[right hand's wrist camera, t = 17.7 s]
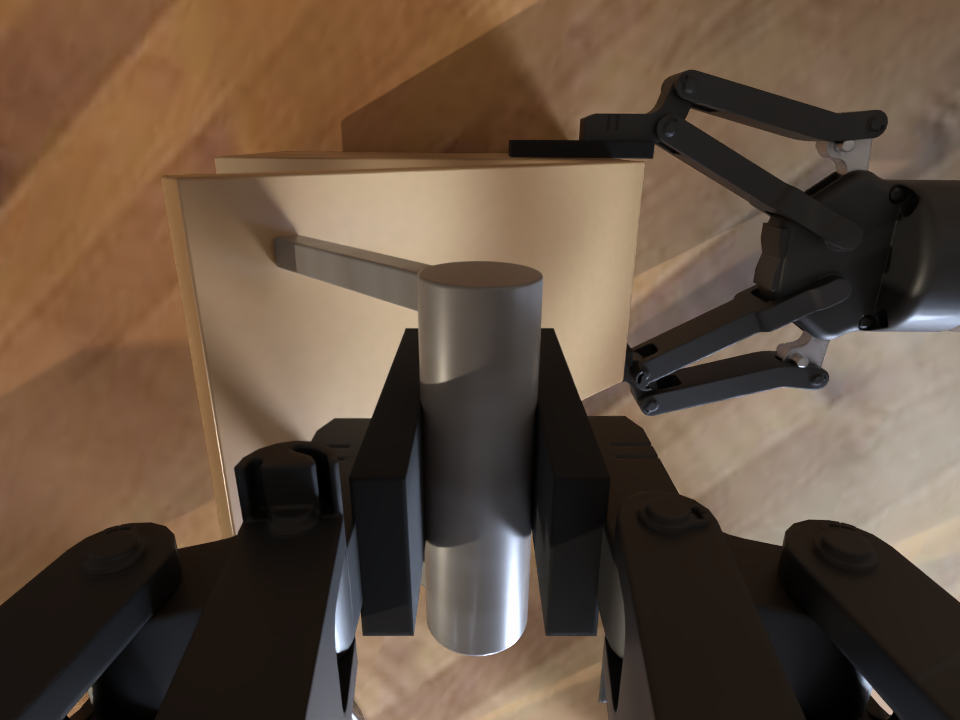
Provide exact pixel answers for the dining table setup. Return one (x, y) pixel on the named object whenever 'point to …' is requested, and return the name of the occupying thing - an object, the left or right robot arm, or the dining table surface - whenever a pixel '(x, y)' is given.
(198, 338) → the lid
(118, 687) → the right robot arm
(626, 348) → the left robot arm
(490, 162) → the chest
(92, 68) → the dining table surface
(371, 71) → the dining table surface
